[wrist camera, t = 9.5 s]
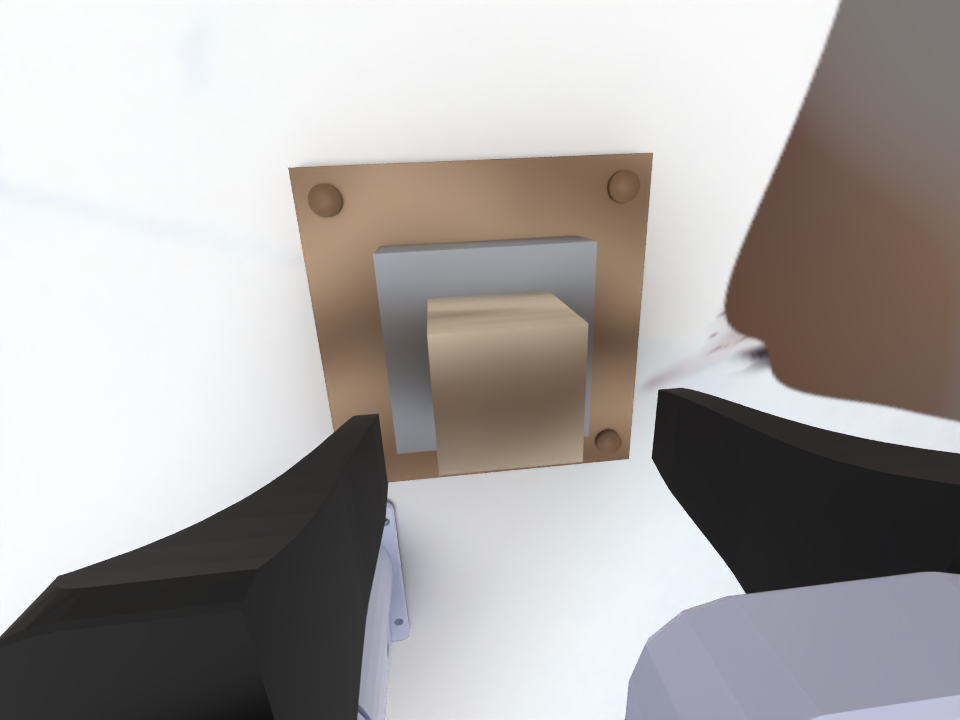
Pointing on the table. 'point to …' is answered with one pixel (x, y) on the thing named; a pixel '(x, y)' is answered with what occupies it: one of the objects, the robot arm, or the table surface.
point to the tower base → (471, 213)
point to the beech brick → (506, 381)
